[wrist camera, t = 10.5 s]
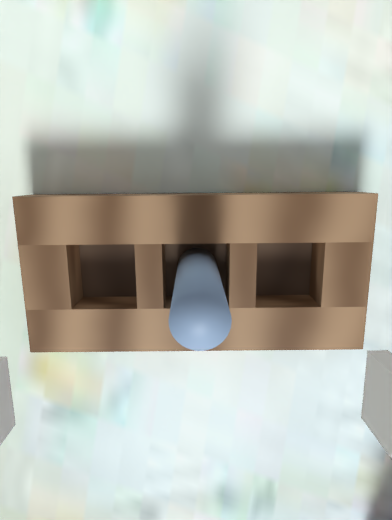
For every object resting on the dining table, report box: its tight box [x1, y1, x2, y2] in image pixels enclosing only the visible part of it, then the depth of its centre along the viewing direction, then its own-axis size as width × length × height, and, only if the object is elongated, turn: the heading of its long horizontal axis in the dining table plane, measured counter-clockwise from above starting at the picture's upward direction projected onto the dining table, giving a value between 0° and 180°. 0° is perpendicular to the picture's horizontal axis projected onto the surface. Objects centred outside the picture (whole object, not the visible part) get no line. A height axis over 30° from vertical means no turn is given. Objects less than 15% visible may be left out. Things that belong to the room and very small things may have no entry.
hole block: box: [12, 192, 378, 352], centre depth 29 cm, size 26×12×3 cm, turn 90°
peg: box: [169, 248, 232, 351], centre depth 25 cm, size 3×3×12 cm
